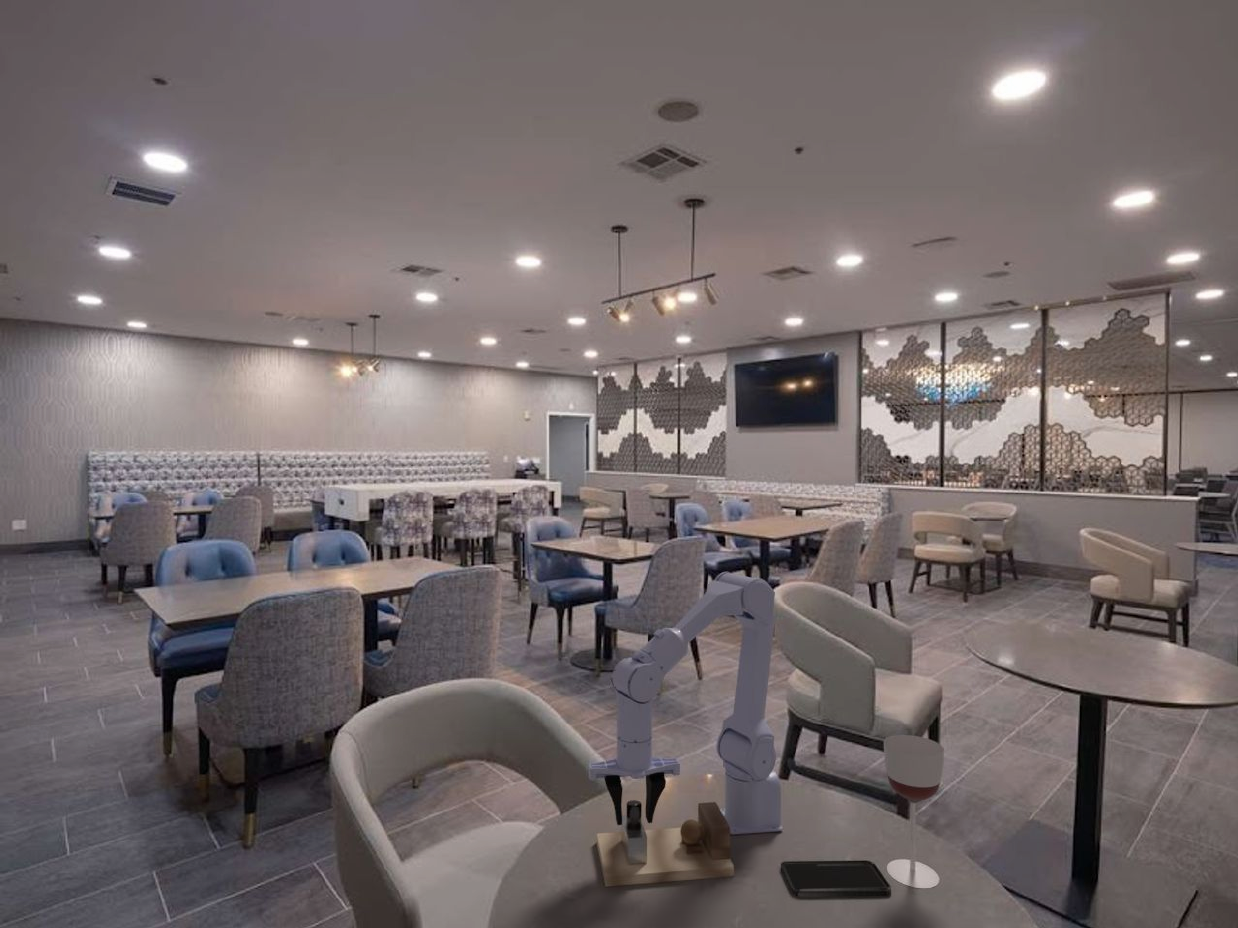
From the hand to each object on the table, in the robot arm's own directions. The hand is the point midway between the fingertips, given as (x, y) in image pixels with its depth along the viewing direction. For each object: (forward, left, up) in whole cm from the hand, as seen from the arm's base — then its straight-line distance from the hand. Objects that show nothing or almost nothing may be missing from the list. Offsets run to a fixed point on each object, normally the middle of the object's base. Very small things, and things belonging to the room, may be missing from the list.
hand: (633, 820), depth 107 cm
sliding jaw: (0, 0, -5) cm, 5 cm away
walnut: (-10, 0, -2) cm, 10 cm away
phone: (-30, +9, -7) cm, 32 cm away
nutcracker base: (-5, 0, -6) cm, 8 cm away
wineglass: (-43, +9, -7) cm, 44 cm away
